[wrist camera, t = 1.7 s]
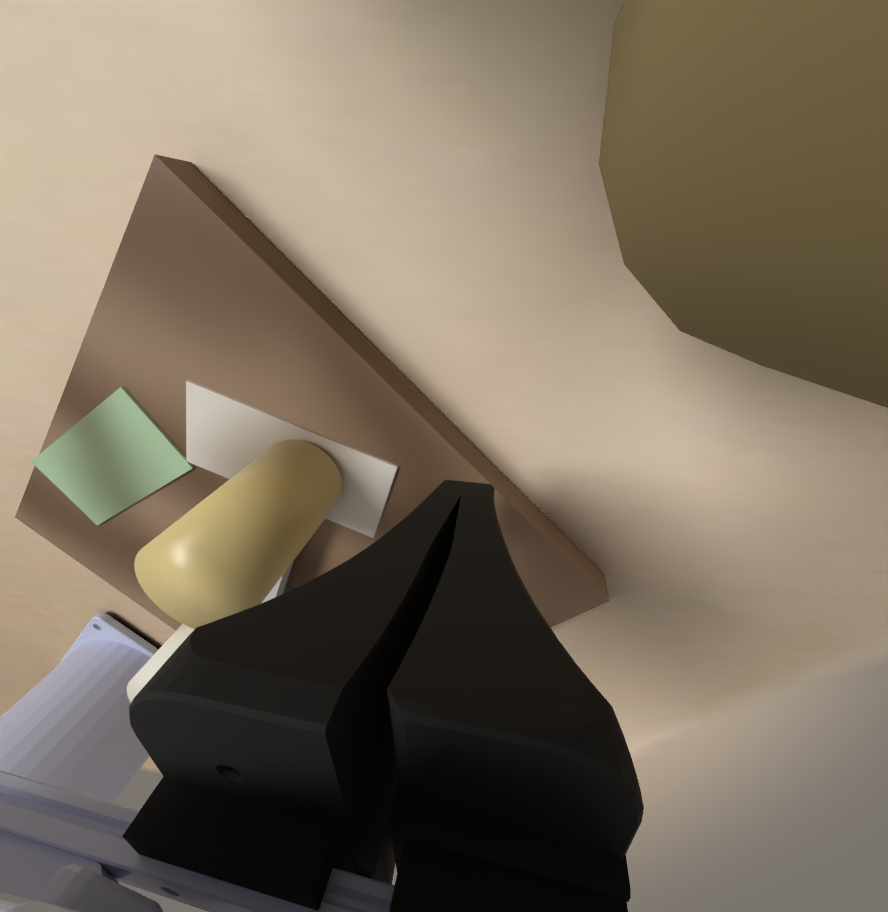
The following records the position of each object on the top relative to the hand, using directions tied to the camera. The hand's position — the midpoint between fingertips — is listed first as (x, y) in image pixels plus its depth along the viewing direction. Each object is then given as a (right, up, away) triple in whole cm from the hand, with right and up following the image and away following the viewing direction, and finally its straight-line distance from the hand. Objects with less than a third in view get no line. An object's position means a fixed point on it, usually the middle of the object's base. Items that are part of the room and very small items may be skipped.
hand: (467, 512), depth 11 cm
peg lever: (-7, -3, +5) cm, 9 cm away
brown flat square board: (-7, -2, +6) cm, 10 cm away
